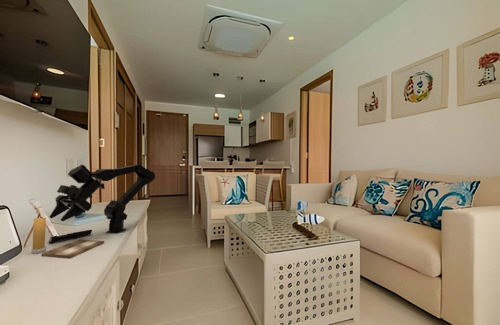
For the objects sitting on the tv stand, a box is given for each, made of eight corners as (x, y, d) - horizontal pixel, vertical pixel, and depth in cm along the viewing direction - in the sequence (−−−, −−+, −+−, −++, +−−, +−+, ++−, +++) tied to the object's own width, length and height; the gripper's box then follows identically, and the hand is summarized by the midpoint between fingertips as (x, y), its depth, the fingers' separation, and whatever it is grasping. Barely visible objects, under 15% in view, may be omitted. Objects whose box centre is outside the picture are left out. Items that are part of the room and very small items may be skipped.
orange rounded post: (39, 249, 86) (40, 217, 87) (48, 250, 86) (49, 217, 86) (28, 253, 82) (29, 219, 83) (37, 254, 82) (38, 220, 82)
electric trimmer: (92, 236, 104) (93, 230, 104) (49, 244, 92) (50, 237, 92) (90, 234, 107) (90, 228, 107) (48, 242, 95) (48, 235, 95)
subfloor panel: (80, 241, 96) (80, 238, 96) (104, 243, 95) (104, 240, 95) (41, 256, 81) (41, 253, 81) (69, 258, 79) (69, 255, 79)
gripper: (61, 177, 98) (27, 205, 88) (84, 179, 90) (49, 210, 80) (80, 192, 105) (51, 220, 95) (103, 196, 97) (73, 226, 87)
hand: (55, 219), depth 89 cm, fingers open, 9 cm apart
